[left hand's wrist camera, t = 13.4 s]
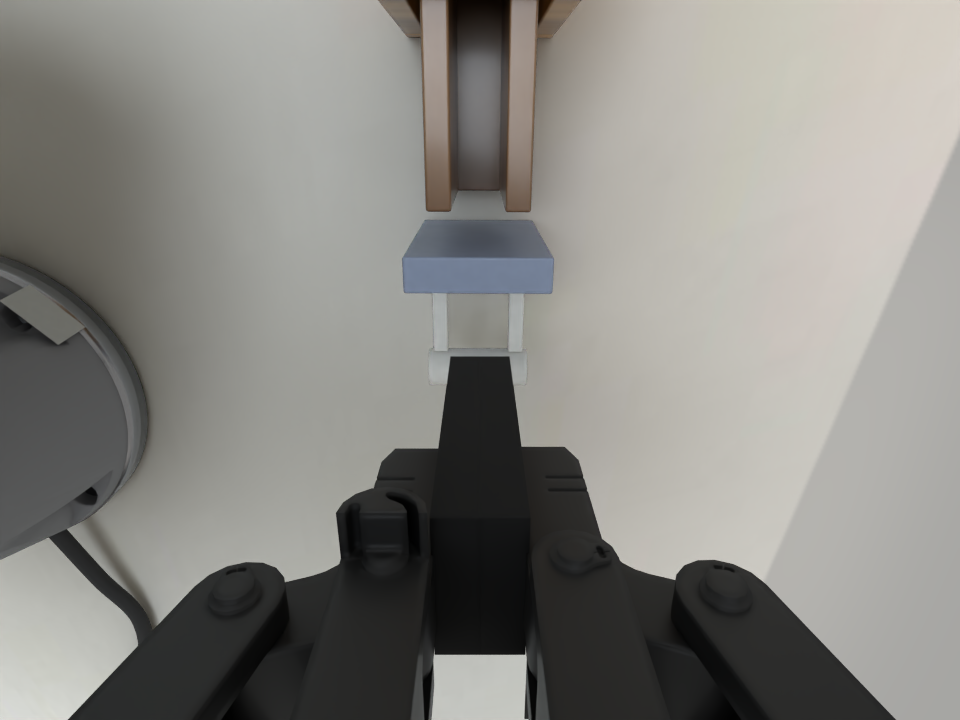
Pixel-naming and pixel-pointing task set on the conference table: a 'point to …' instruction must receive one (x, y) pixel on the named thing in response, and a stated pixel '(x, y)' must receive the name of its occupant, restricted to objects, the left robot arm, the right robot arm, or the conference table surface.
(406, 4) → the tan wooden box
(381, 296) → the conference table surface
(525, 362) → the drawer
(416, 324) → the conference table surface
